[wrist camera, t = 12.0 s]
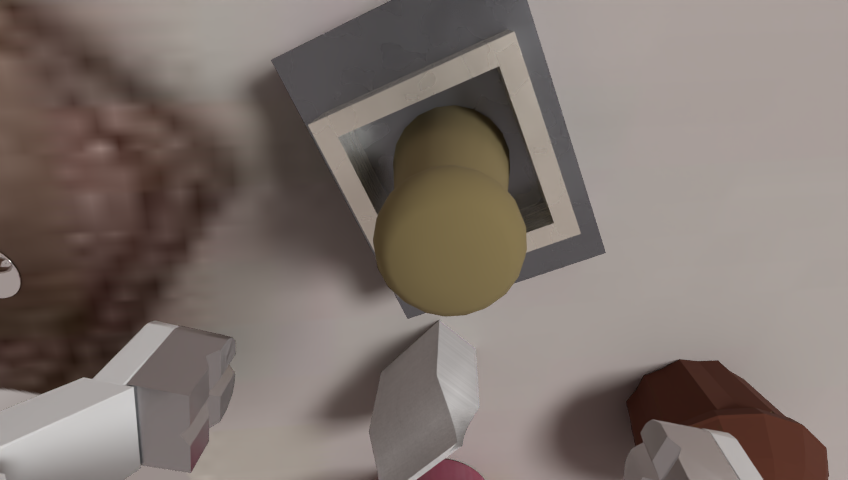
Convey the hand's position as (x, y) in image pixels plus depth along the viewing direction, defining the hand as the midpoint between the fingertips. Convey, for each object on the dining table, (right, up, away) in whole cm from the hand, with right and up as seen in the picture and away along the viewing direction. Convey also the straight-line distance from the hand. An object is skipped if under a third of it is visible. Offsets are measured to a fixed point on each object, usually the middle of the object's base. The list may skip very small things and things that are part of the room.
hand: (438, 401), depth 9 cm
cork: (+1, +7, +16) cm, 17 cm away
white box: (0, -6, +27) cm, 28 cm away
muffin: (+20, -9, +28) cm, 35 cm away
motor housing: (+1, +9, +20) cm, 22 cm away
